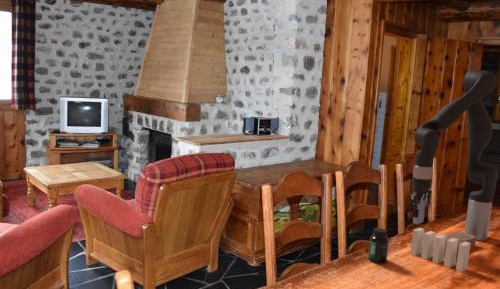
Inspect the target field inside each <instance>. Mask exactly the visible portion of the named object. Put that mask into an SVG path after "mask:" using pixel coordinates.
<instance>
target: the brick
mask: <svg viewBox="0 0 500 289" xmlns="http://www.w3.org/2000/svg"><path fill="white" fill-rule="evenodd" d="M444 235H445V236H446V244H445V251H446V245H447V240H449V239H452V238H455V239H458V246H457V253H458V250H459V244H461V243H463V242H468V243H471V244H470V249H471V248H472V247H474V246H475V245H476V241H477V240H476V237H475V236H473V235H470V234H467V233H465V232H462V231H458V230H457V231H454V232H452V233H448V234H444Z"/></svg>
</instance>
